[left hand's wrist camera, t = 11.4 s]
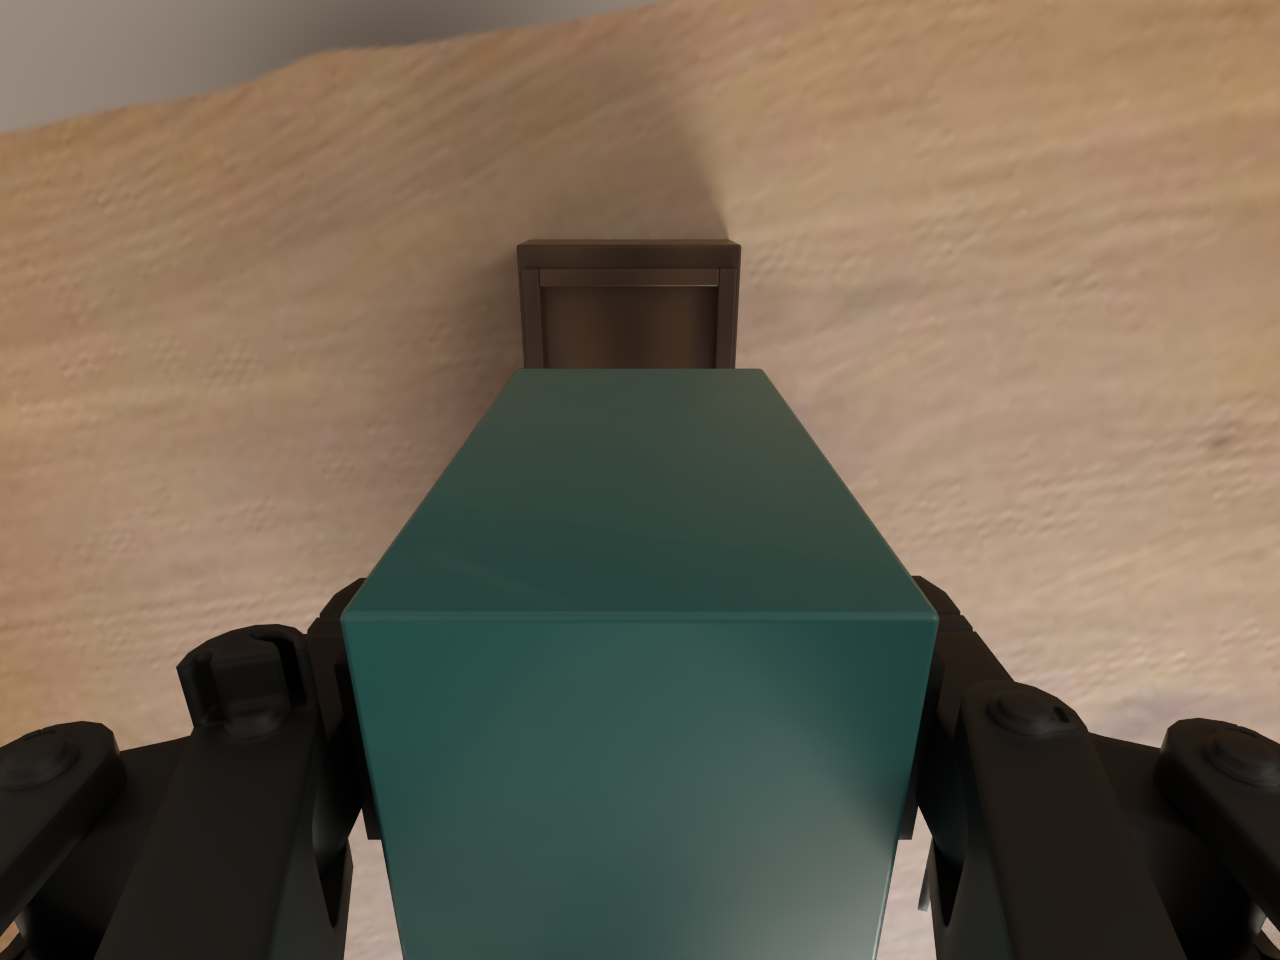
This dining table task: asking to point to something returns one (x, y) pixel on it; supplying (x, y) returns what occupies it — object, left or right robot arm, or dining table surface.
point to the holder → (629, 303)
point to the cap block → (639, 683)
